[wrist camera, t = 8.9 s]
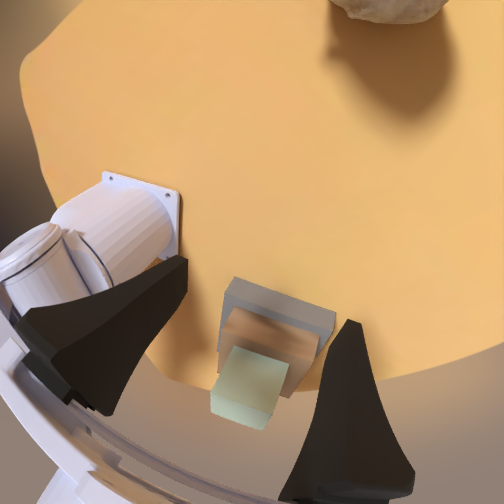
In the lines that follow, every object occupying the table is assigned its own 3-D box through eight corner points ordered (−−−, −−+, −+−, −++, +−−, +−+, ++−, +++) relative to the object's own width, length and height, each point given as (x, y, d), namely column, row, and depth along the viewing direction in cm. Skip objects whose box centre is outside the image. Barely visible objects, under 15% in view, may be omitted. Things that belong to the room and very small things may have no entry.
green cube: (230, 371, 26) (211, 412, 22) (234, 345, 23) (210, 392, 19) (278, 387, 25) (262, 430, 21) (289, 364, 22) (272, 414, 18)
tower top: (228, 351, 29) (217, 372, 27) (234, 305, 25) (221, 329, 22) (295, 375, 28) (288, 398, 26) (319, 334, 23) (313, 361, 21)
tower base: (227, 332, 32) (216, 351, 30) (237, 272, 26) (224, 292, 24) (304, 361, 31) (299, 381, 28) (336, 307, 25) (332, 331, 22)
